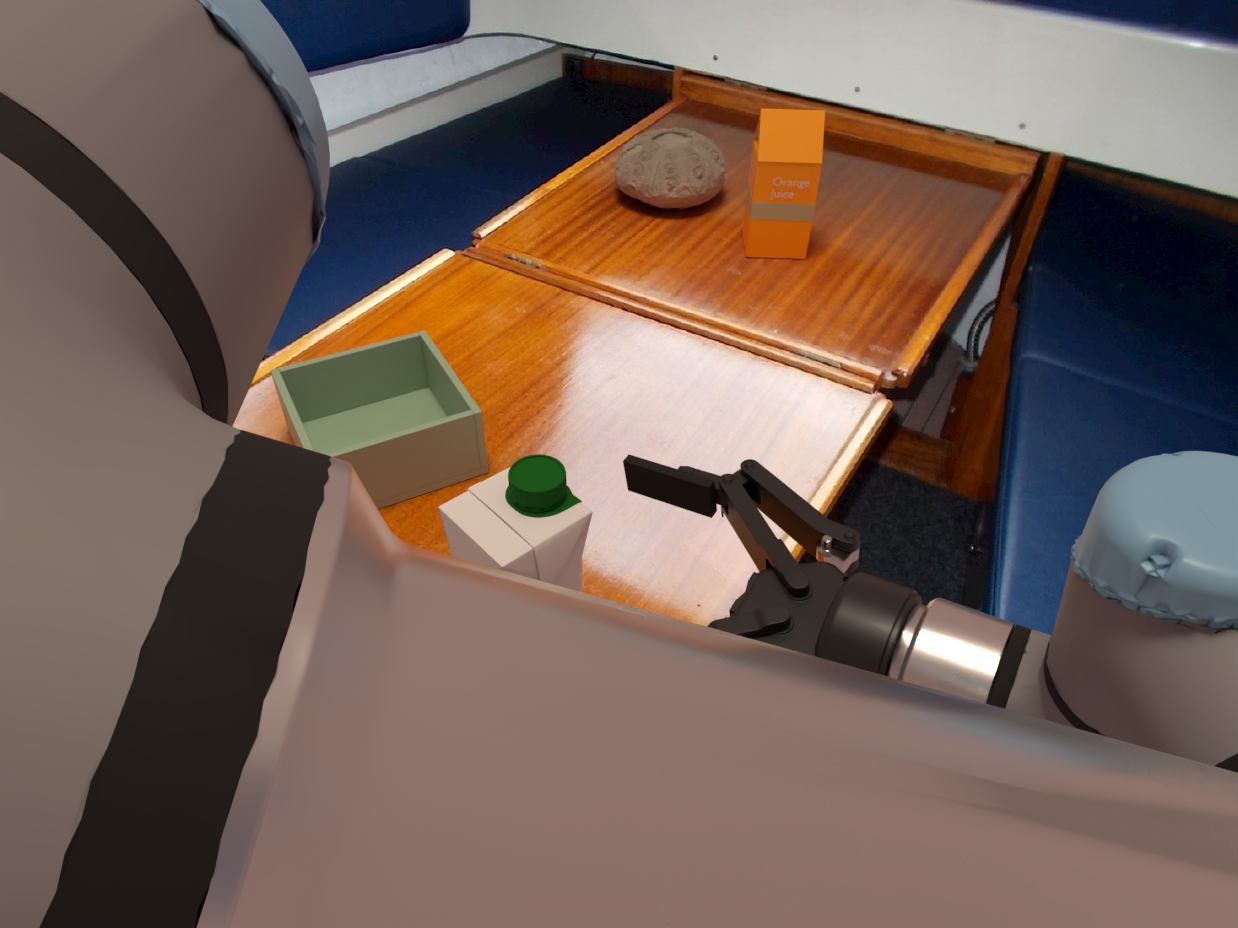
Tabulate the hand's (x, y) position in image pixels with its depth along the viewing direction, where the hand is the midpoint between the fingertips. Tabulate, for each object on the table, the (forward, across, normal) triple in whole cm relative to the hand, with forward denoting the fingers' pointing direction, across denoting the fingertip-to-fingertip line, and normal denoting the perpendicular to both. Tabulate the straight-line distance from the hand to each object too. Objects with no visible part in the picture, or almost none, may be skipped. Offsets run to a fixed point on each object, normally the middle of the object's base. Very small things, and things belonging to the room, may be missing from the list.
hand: (571, 537), depth 55 cm
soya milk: (+9, 0, -19) cm, 21 cm away
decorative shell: (+45, +86, -21) cm, 99 cm away
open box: (+37, +14, -16) cm, 43 cm away
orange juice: (+23, +80, -23) cm, 86 cm away
